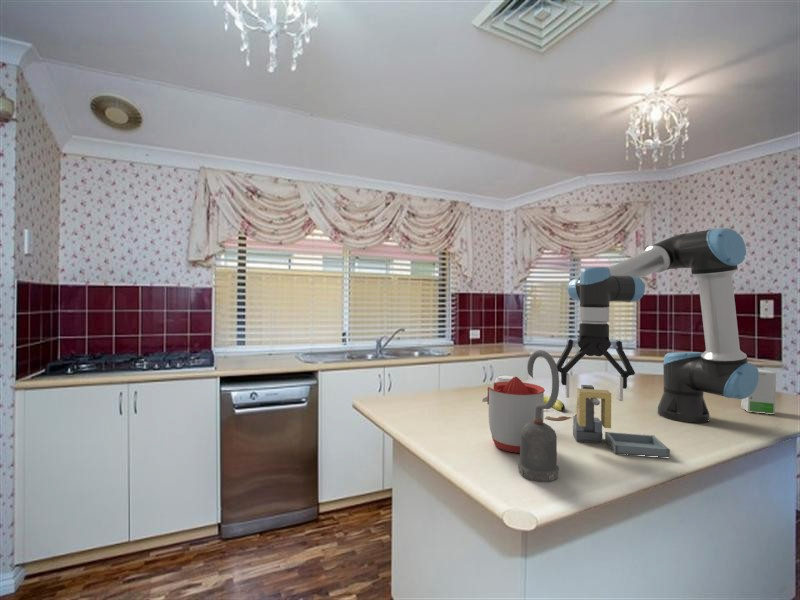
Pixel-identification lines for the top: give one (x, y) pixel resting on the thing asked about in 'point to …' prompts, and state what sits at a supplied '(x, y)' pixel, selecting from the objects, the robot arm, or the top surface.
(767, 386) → the skincare box
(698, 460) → the top surface
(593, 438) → the grey faucet post
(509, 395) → the citrus juicer
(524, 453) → the hook
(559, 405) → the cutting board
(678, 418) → the robot arm
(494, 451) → the top surface
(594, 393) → the wooden arch block
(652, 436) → the tray
